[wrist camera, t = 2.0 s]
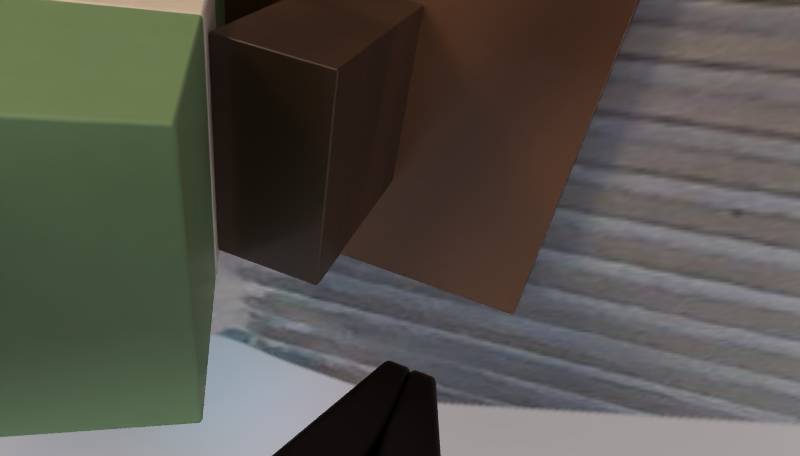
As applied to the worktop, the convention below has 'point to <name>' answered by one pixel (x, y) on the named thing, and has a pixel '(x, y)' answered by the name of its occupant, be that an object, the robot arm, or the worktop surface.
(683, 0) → the worktop surface
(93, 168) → the block
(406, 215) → the walnut board
